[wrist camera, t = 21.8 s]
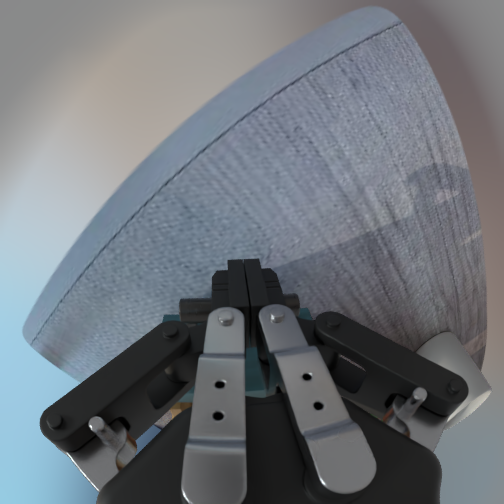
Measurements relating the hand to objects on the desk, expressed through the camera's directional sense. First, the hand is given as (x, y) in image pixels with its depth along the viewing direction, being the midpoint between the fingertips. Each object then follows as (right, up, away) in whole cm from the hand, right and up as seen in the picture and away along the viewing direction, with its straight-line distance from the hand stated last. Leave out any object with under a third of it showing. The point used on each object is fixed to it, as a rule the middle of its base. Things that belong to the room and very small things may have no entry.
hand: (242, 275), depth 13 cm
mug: (+24, -14, +17) cm, 32 cm away
